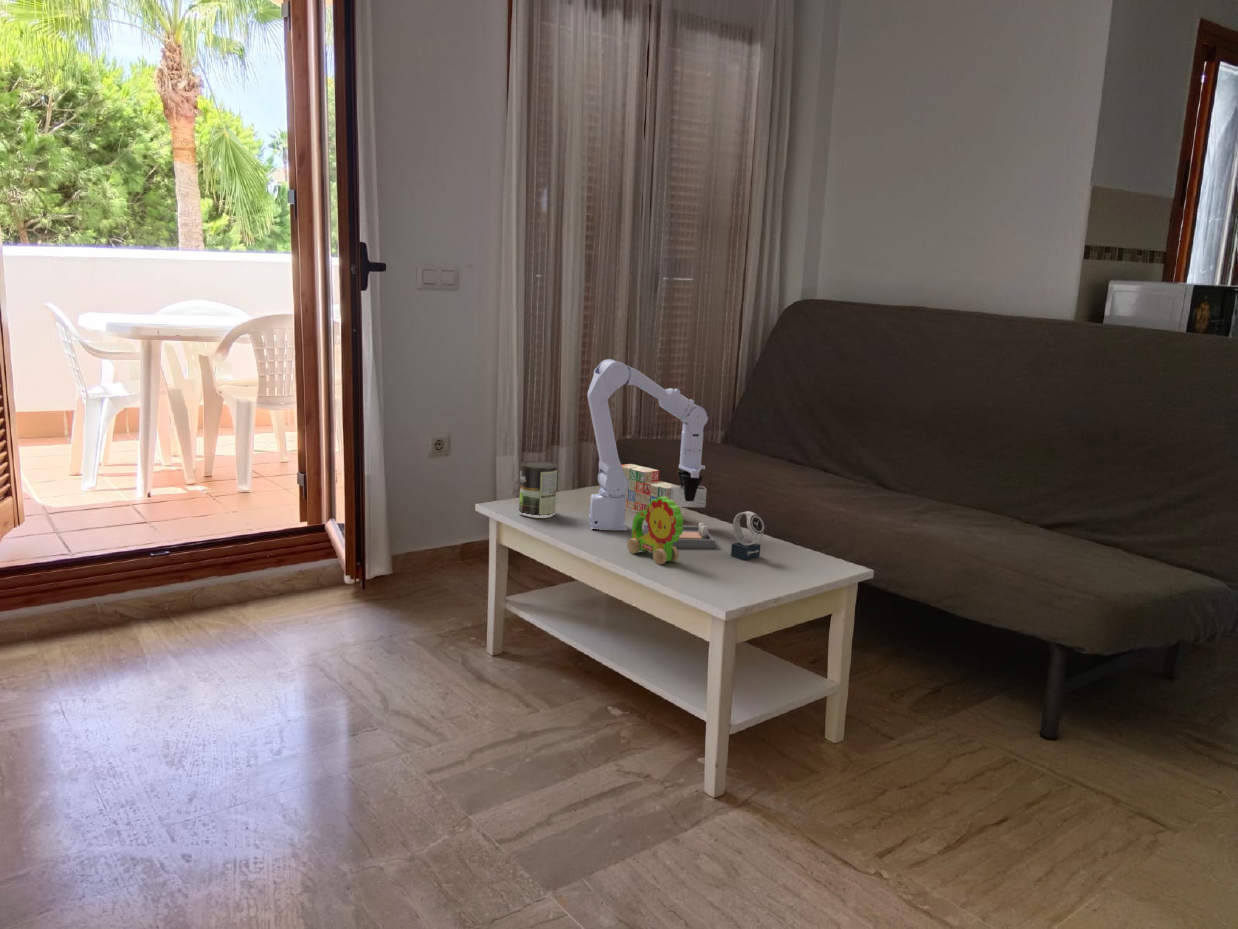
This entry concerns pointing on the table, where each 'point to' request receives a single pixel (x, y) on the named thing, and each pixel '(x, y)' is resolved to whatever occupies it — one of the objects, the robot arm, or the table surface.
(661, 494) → the stack of blocks
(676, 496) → the drive
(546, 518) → the table surface
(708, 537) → the tray
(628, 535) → the table surface
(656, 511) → the toy lion
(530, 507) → the coffee can
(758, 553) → the watch
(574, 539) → the table surface
